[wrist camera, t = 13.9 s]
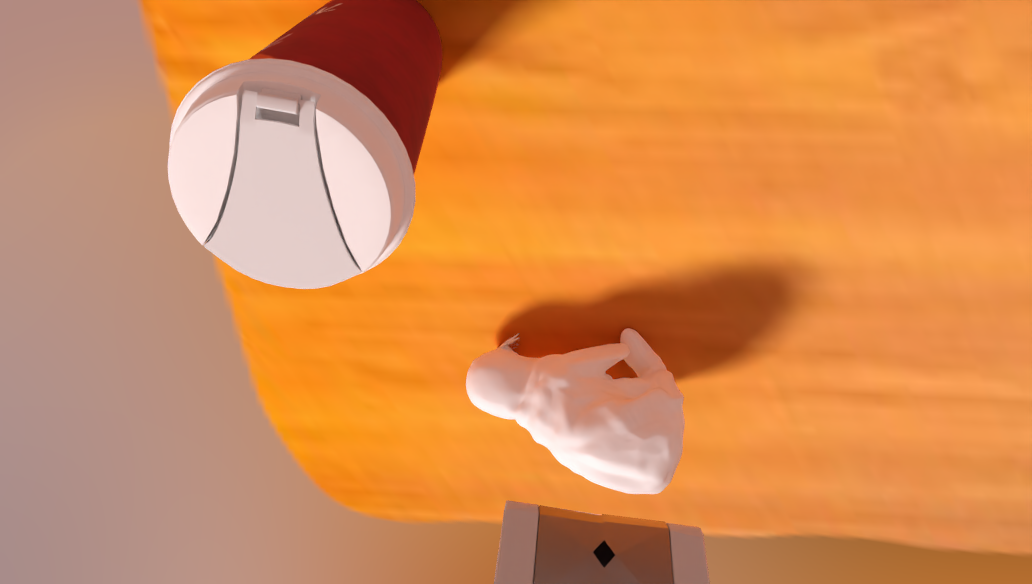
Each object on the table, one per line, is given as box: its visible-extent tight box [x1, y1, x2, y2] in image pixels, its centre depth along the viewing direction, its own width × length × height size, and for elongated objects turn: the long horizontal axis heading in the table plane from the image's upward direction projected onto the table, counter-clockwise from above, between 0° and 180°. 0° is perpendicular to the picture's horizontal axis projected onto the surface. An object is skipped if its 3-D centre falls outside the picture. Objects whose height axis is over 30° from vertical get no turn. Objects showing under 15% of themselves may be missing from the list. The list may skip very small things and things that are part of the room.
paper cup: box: [168, 0, 442, 289], centre depth 28 cm, size 8×8×14 cm
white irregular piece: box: [466, 328, 685, 494], centre depth 40 cm, size 6×8×12 cm
